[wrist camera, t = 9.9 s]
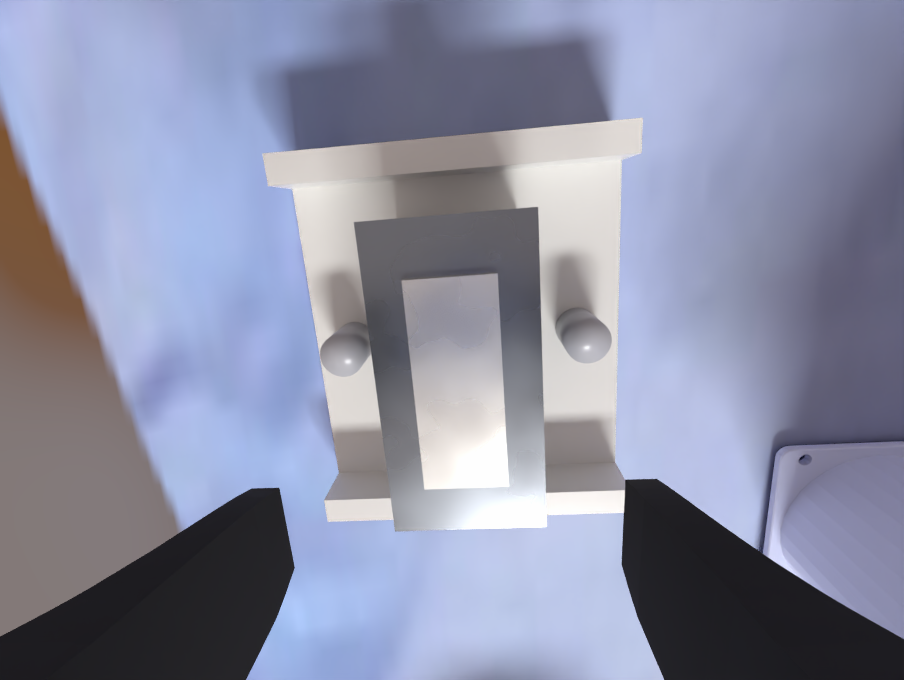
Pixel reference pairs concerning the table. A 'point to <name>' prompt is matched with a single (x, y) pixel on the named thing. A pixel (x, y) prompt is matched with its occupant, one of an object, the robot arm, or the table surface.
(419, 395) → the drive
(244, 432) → the table surface
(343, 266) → the tray
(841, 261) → the table surface
